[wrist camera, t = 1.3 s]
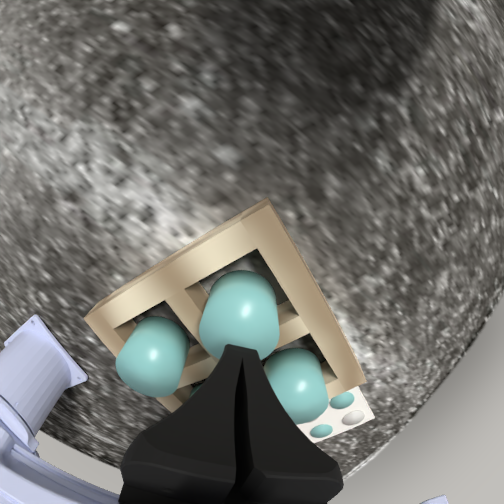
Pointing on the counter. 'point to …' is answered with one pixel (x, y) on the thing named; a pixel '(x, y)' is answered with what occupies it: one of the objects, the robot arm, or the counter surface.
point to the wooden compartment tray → (195, 297)
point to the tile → (339, 416)
